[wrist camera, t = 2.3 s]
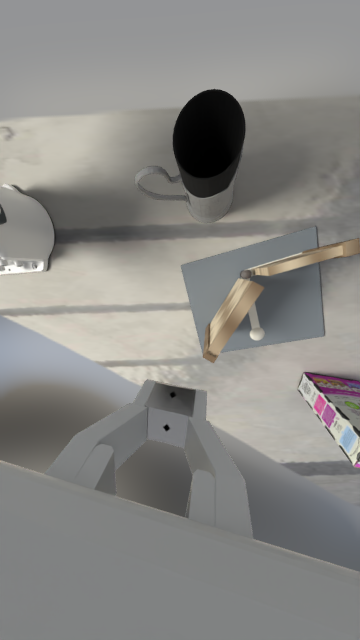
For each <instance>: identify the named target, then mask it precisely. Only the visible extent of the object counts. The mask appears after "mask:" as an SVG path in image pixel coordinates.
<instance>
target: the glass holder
mask: <svg viewBox="0 0 360 640" xmlns="http://www.w3.org/2000/svg"><path fill="white" fill-rule="evenodd" d="M244 138H245V118H244V114H243V111H242V108H241V106H240V105H239V103H238V101H237V100H236V99H235V98H234V97H233V96H232V95H230V94H229V93H227V92H225V91H222V90H216V89H213V90H206V91H203V92H201V93H199V94H197V95H196V96H194V97H193V98H192V99H191V100H190V101H188V103H187V104H186V105H185V106H184V107H183V109H182V111H181V112H180V114H179V116H178V118H177V121H176V124H175V127H174V133H173V150H174V154H175V158H176V161H177V164H178V167H179V171H180V175H178V176H175V177H170V176H169V175H168V173H167V172H166V171H165V169H163V168H162V167H158V166H150V167H146V168H144V169H142V170H141V171H139V172H138V173H137V174H136V176H135V184H136V186H137V188H138V190H139V191H140V192H141V193H142V194H144V195H146V196H148V197H150V198H153V199H157V200H184V201H186V203H187V207H188V210H189V212H190V214H191V215H192V216H193V217H194V218H195V219H196V220H198V221H200V222H203V223H211V222H215V221H217V220H219V219H221V218H222V217H223V216H224V215H225V214H226V213H227V212H228V210H229V208H230V206H231V204H232V201H233V194H234V193H233V187H234V183H235V180H236V176H237V172H238V168H239V164H240V160H241V157H242V150H243V142H244ZM149 174H161V175H163V176H164V177H165V178H166V179H167V181H168V182H169V183H177V182H180V181H182V185H183V188H184V191H185V194H186V196H182V195H159V194H155V193H152V192H149V191H147V190H145V189H144V188H142V187H141V186H140V185H139V183H138V182H139V181H140V179H141V178H143V177H144V176H146V175H149Z"/></svg>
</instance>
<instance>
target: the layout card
mask: <svg viewBox="0 0 360 640" xmlns="http://www.w3.org/2000/svg"><path fill="white" fill-rule="evenodd" d="M314 248H318V247H317V233H316V226H315V227H312V228H308V229H305V230H301V231H298V232H294V233H291V234H287V235H284V236H281V237H277V238H274V239H270V240H267V241H263V242H260V243H256V244H253V245H249V246H246V247H243V248H239V249H236V250H232V251H229V252H225V253H222V254H218V255H215V256H211V257H208V258H205V259H201V260H198V261H194V262H191V263H187V264H184V265H181V269H182V273H183V277H184V281H185V285H186V289H187V293H188V297H189V301H190V305H191V309H192V313H193V317H194V321H195V325H196V329H197V333H198V337H199V341H200V345H201V349H202V353H203V350H204V339H205V329H206V327H207V325H208V324H210V323H211V321H212V320H213V318H214V317H215V315H216V313H217V312H218V310H219V309H220V307H221V305H222V304H223V302H224V301H225V299H226V297H227V296H228V294H229V292H230V291H231V289H232V288H233V286H234V284H235V283H236V281H237V280H238V278H239V279H244V278H241V277H240V272H241V271H243V270H250V271H251V273H252V275H251V277H250V278H249V279H244V280H248V281H254V282H255V283H257V284H259V285H261V286H263V287H265V288H264V289H263V291H262V292H261V293H260V295H259V296H258V298H257V299H256V301H255V302H254V304H253V305H252V307H251V308H250V309H249V311H248V312H247V314H246V315H245V317H244V318H243V320H242V321H241V323H240V324H239V325H238V327H237V328H236V330H235V331H234V333H233V334H232V336H231V337H230V339H229V340H228V341H227V343H226V344H225V346H224V347H223V349H222V350H221V352H227V351H234V350H240V349H246V348H253V347H259V346H265V345H272V344H278V343H285V342H291V341H297V340H304V339H310V338H316V337H323V336H324V327H323V314H322V300H321V287H320V274H319V262H316V263H313V264H309V265H306V266H302V267H299V268H295V269H292V270H288V271H285V272H281V273H278V274H274V275H271V276H265V275H253V271H252V269H253V268H256V267H259V266H263V265H266V264H269V263H272V262H276V261H279V260H282V259H286V258H289V257H292V256H296V255H299V254H302V252H303V251H306V250H309V249H314ZM221 352H220V353H221Z"/></svg>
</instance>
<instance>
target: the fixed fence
mask: <svg viewBox="0 0 360 640" xmlns="http://www.w3.org/2000/svg"><path fill="white" fill-rule="evenodd" d="M358 253H360V245H359V238H357V239H353V240H349V241H344V242H340V243H335V244H331V245H327V246H322V247H318V248H314V249H309V250H306V251H303V252H302V254H299V255H296V256H292V257H289V258H286V259H282V260H279V261H276V262H272V263H269V264H266V265H263V266H259V267H256V268H253V269H252V271H253V275H265V276H271V275H274V274H278V273H281V272H285V271H288V270H292V269H295V268H299V267H302V266H306V265H309V264H313V263H316V262H320V261H323V260H327V259H331V258H340V257H348V256H351V255H355V254H358ZM251 275H252V273H251V271H250V270H243V271H241V272H240V277H241V278H244V279H249V278H250V277H251Z"/></svg>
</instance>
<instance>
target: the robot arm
mask: <svg viewBox="0 0 360 640" xmlns="http://www.w3.org/2000/svg"><path fill="white" fill-rule="evenodd" d="M53 246H54V229H53V225H52V222H51V219H50V217H49V215H48V213H47V212H46V210H45V209H44V207H43V206H42V205H41V204H40V203H39V202H38V201H37V200H35V199H34V198H32V197H30V196H27V195H24V194H22V193H20V192H19V191H18V190H17V189H16V188H15V187H13V186H12V185H9V184H3V185H2V186H0V275H10V274H22V273H34V272H45V271H46V270H47V267H48V258H49V256H50V254H51V252H52V249H53ZM206 405H207V391H204V390H198V389H192V388H187V387H181V386H176V385H172V384H167V383H163V382H159V381H153V380H149V379H147V380H146V381H145V382H144V384H143V386H142V388H141V390H140V391H139V393H138V395H137V397H136V398H135V400H134V402H133V404H130V403H129V404H127V405H125V406H124V407H122V408H120V409H119V410H117V411H115V412H114V413H112V414H110V415H108V416H107V417H105V418H103V419H102V420H100V421H98V422H97V423H95V424H93V425H92V426H90V427H88V428H86V429H85V430H83V431H81V432H79V433H78V434H76V435H75V436H74V437H73V438H72V440H71V441H70V442H69V443H68V445H67V446H66V447H65V449H64V450H63V451H62V452H61V453H60V455H59V456H58V457H57V459H56V460H55V461H54V462H53V464H52V465H51V466H50V467H49V469H48V470H47V471H46V472H45V474H43V473H39V472H36V471H33V470H30V469H27V468H23V467H20V466H17V465H14V464H10V463H7V462H4V461H1V460H0V640H360V572H357V571H354V570H351V569H348V568H345V567H342V566H338V565H335V564H332V563H328V562H325V561H322V560H319V559H315V558H312V557H309V556H306V555H303V554H300V553H296V552H293V551H290V550H287V549H284V548H280V547H277V546H274V545H270V544H268V543H264V542H261V541H258V540H255V539H253V533H252V526H251V519H250V512H249V505H248V498H247V492H246V484H245V480H244V478H243V477H242V475H241V473H240V472H239V470H238V468H237V467H236V465H235V463H234V462H233V460H232V459H231V457H230V455H229V453H228V452H227V450H226V448H225V447H224V445H223V443H222V442H221V440H220V438H219V437H218V435H217V434H216V432H215V430H214V428H213V427H212V425H211V423H210V422H209V421H206ZM147 439H150V440H155V441H159V442H164V443H168V444H171V445H175V446H178V447H182V448H184V451H185V454H186V457H187V460H188V463H189V466H190V469H191V472H192V475H193V478H192V484H191V489H190V494H189V499H188V505H187V510H186V516H185V518H184V517H181V516H178V515H174V514H171V513H168V512H165V511H162V510H159V509H155V508H152V507H149V506H146V505H143V504H139V503H136V502H133V501H130V500H126V499H123V498H120V497H117V496H116V479H115V470H116V469H117V468H119V466H120V465H122V463H124V461H125V460H126V459H128V458H129V457H130V456H131V455H132V454H133V453H134V452H135V451H136V450H137V449H138V448H139V447H140V446H141V445H142V444H143V443H144V442H145V441H146V440H147Z"/></svg>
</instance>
